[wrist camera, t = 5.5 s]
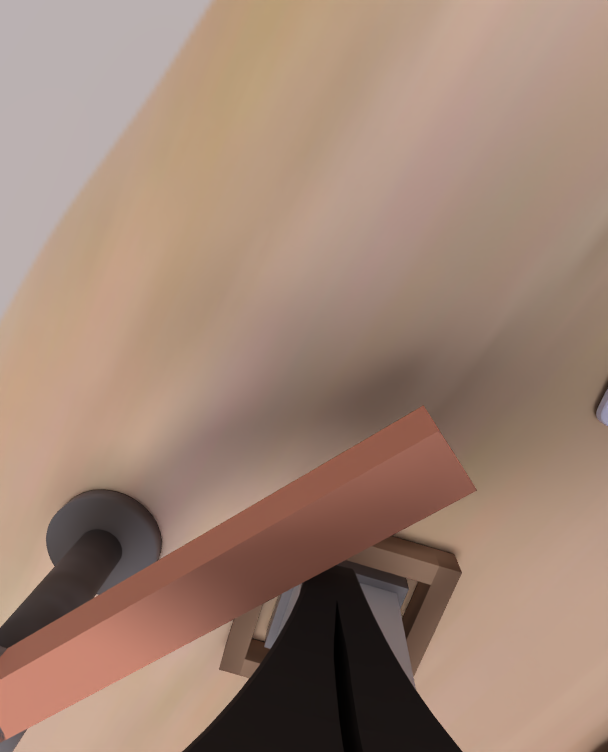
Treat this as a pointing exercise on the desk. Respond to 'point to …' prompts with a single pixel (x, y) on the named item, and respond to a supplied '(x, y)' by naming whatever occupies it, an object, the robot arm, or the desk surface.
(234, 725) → the robot arm
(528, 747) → the desk surface
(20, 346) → the desk surface
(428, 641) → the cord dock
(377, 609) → the grey plug
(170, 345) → the desk surface
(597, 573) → the desk surface
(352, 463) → the salmon pink long bar
